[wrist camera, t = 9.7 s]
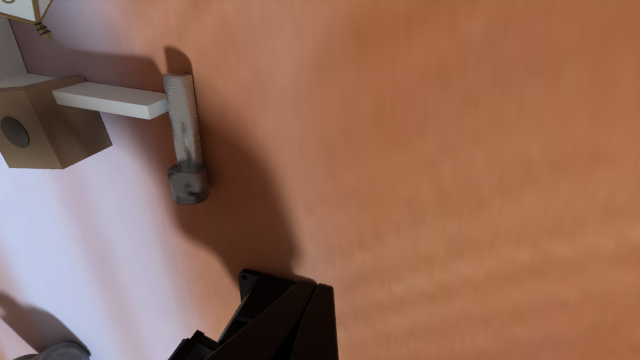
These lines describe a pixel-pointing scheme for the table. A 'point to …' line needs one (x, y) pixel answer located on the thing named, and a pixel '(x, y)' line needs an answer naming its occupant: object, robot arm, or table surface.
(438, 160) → the table surface
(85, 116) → the drilled block
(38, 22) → the game die
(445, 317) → the table surface
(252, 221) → the table surface
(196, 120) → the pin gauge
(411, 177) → the table surface
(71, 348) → the pipe fitting
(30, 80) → the tray
